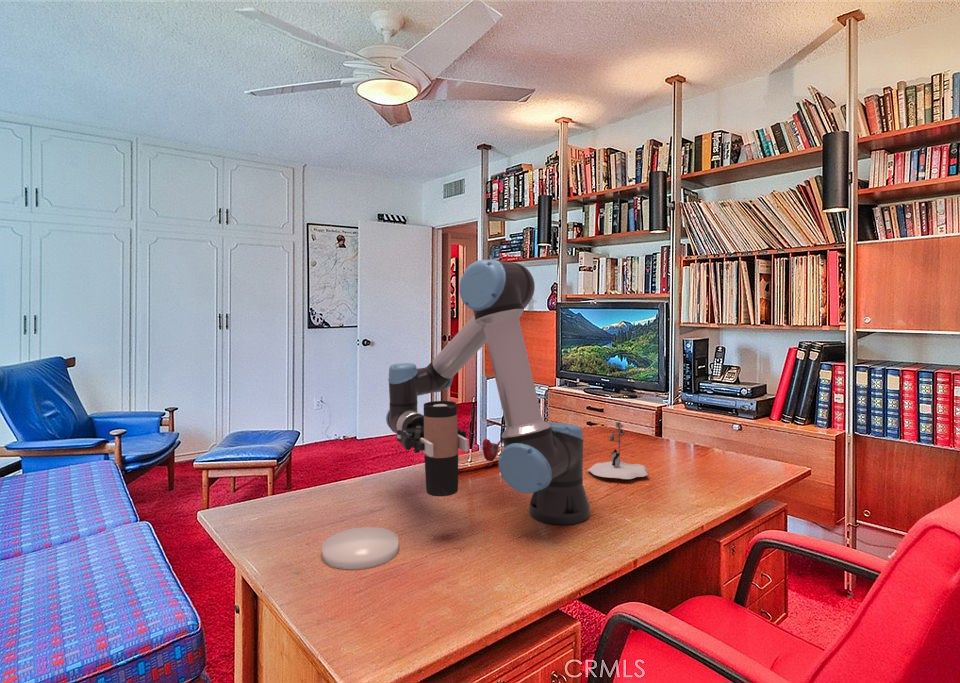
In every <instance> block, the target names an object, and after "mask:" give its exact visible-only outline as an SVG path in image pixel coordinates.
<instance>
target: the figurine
mask: <svg viewBox="0 0 960 683" xmlns="http://www.w3.org/2000/svg"><path fill="white" fill-rule="evenodd" d="M614 423H615V426H614V427H615V428H616V429H617V431H618V434H616V432H615V431H612V432H611V434H609V438H608V439H609V442H616V443H618V450H617V449H616V448H615V449H613V451H612V452H611V453H610V455H609V456H608V457H609V458H610V456H611V459H610V461H606V462H605V461H604V462H596V463H595V464H593V465H592V466H591V467H589V468H588V469H587V472H590V473H591V474H592V475H593V476H597V477H602V478H610V479H613V478H614V479H621V480H632V479H635V478H640V477H641V478H644V477H646V476H649V471H648V468H647V467H646V466H645V465H643V464H639V463H634V464H632V463H628V462H625V461H622V460H621V456H620V455H621V453H620V452H621V448H620V447H621V445H631V444H632V442H631V441H628V443H627V442H621V437H624V436H626V433H627V430H625V431H624V430H623V429H622V428H624V424H621V422H620V421H615V422H614ZM615 437H616V438H618V440H615Z"/></svg>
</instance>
